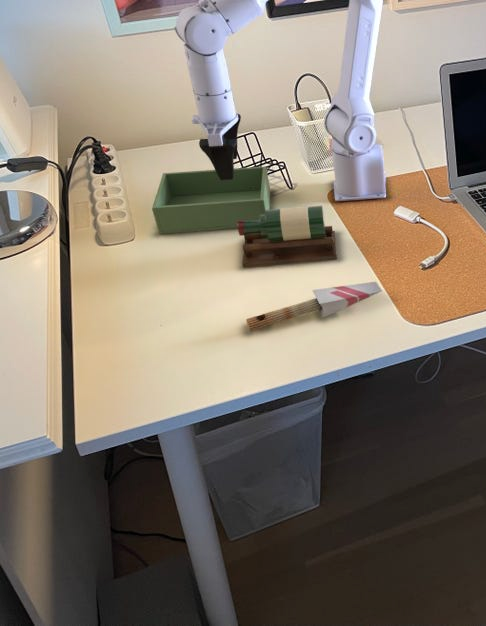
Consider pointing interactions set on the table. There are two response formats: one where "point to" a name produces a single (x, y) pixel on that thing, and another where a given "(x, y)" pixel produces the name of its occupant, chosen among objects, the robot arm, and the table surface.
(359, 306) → the table surface
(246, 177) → the basket
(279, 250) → the rack
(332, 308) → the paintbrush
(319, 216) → the bottle
